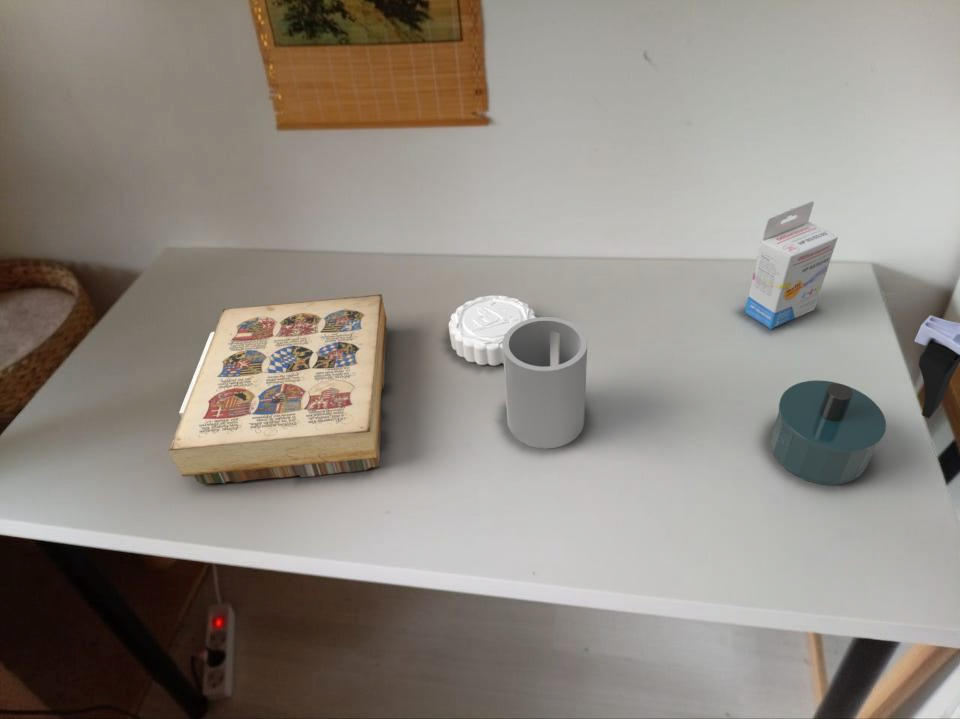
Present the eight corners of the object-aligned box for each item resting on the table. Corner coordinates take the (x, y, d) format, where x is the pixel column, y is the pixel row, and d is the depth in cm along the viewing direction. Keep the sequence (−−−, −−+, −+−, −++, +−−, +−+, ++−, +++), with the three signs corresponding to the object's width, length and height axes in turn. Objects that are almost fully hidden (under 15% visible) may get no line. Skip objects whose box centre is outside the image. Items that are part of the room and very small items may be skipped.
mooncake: (519, 304, 99) (518, 283, 97) (550, 353, 91) (550, 332, 88) (440, 324, 97) (437, 303, 95) (465, 376, 88) (462, 355, 86)
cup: (516, 454, 78) (511, 377, 70) (501, 400, 85) (495, 324, 77) (593, 440, 78) (597, 362, 71) (572, 388, 85) (574, 311, 77)
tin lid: (905, 444, 69) (920, 414, 66) (814, 467, 67) (825, 437, 65) (841, 379, 76) (852, 350, 74) (758, 398, 75) (766, 369, 72)
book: (220, 339, 99) (163, 491, 77) (205, 303, 95) (141, 453, 73) (389, 323, 99) (379, 470, 77) (382, 286, 95) (370, 431, 73)
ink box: (771, 331, 91) (796, 235, 81) (743, 312, 94) (764, 218, 85) (816, 310, 94) (846, 214, 84) (787, 292, 97) (813, 198, 87)
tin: (885, 473, 72) (902, 438, 69) (803, 494, 71) (816, 460, 67) (829, 411, 79) (842, 377, 76) (754, 429, 78) (763, 396, 74)
